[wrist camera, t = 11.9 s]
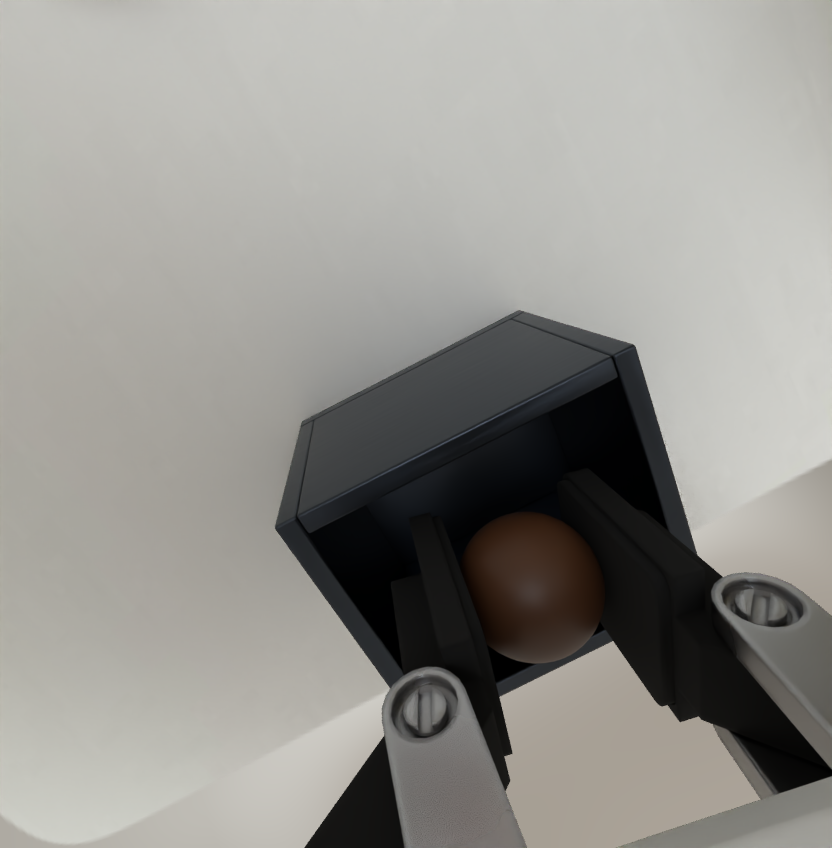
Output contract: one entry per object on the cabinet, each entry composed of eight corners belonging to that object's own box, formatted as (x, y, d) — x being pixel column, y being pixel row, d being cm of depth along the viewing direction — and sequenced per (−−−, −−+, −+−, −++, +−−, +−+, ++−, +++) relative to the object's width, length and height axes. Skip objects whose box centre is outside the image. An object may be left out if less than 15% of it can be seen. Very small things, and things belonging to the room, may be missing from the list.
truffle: (458, 608, 12) (493, 718, 9) (432, 508, 11) (463, 596, 8) (572, 575, 12) (641, 673, 9) (557, 472, 11) (630, 547, 8)
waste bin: (396, 573, 18) (423, 735, 12) (301, 421, 15) (273, 528, 9) (584, 479, 18) (710, 594, 12) (519, 309, 15) (635, 343, 9)
